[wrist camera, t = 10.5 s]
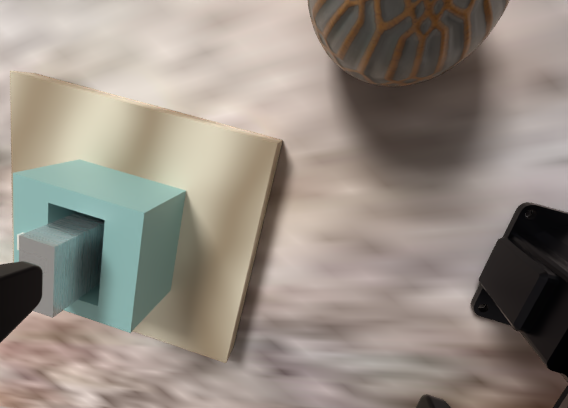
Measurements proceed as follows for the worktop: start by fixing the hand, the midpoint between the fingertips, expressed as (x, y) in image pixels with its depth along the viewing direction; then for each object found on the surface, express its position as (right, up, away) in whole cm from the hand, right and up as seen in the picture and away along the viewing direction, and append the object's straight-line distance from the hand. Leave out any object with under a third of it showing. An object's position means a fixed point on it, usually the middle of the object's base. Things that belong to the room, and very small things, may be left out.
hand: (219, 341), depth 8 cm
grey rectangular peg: (-8, +2, +12) cm, 14 cm away
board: (-7, +2, +13) cm, 16 cm away
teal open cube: (-8, +2, +12) cm, 14 cm away
